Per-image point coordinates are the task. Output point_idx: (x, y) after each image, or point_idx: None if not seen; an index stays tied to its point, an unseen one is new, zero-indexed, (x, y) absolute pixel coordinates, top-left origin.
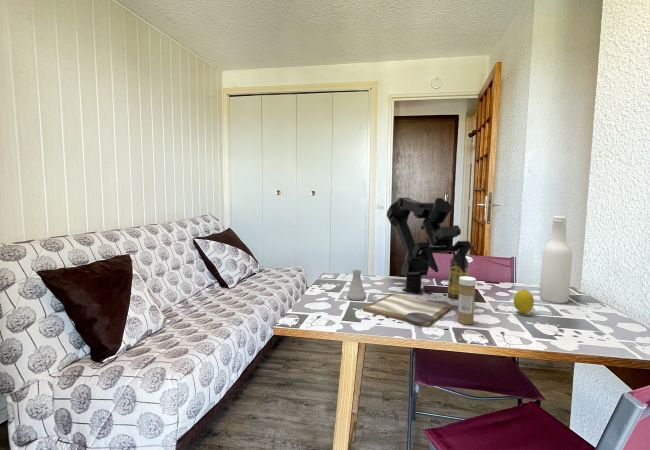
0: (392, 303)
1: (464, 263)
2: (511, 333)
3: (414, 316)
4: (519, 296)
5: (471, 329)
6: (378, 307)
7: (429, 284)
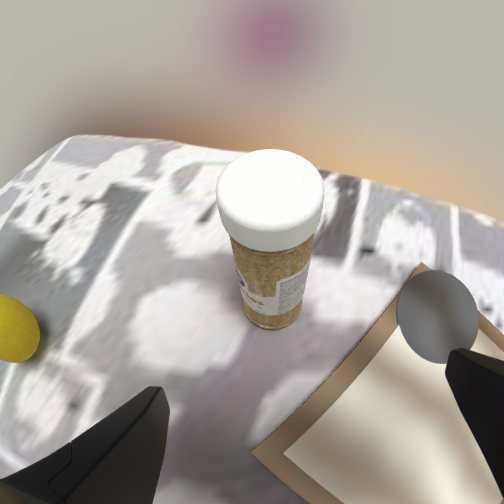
0: None
1: (108, 418)
2: (182, 212)
3: (455, 319)
4: (11, 313)
5: None
6: None
7: None
